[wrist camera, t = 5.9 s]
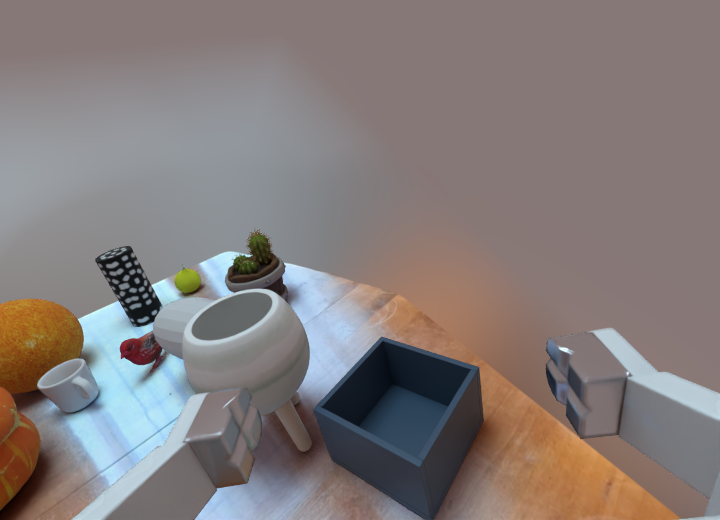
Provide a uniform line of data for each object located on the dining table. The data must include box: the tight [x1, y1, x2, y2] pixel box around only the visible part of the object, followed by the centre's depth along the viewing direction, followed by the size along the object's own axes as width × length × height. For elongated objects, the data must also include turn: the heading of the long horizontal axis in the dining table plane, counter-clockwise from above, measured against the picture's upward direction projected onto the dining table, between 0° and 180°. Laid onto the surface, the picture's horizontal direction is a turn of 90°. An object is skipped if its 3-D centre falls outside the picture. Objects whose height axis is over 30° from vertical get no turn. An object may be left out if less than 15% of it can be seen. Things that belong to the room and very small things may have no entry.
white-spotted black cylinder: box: [95, 246, 163, 326], centre depth 97 cm, size 8×8×20 cm
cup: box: [37, 359, 99, 412], centre depth 72 cm, size 11×8×8 cm
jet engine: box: [153, 298, 215, 359], centre depth 67 cm, size 15×20×18 cm
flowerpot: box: [225, 230, 288, 300], centre depth 90 cm, size 14×15×20 cm
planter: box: [182, 289, 312, 452], centre depth 52 cm, size 16×16×22 cm
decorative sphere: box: [0, 299, 84, 394], centre depth 80 cm, size 20×20×20 cm
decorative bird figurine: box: [120, 331, 163, 372], centre depth 80 cm, size 3×18×10 cm, turn 177°
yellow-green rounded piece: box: [175, 266, 201, 293], centre depth 109 cm, size 7×7×10 cm
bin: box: [313, 337, 484, 520], centre depth 49 cm, size 16×16×10 cm
